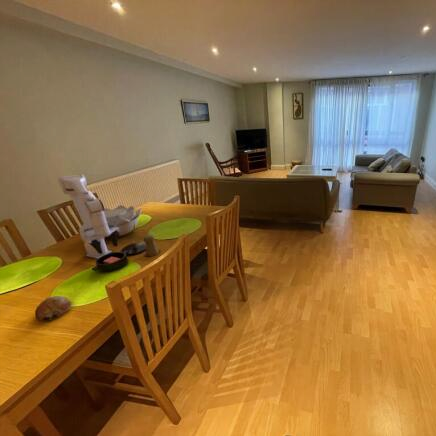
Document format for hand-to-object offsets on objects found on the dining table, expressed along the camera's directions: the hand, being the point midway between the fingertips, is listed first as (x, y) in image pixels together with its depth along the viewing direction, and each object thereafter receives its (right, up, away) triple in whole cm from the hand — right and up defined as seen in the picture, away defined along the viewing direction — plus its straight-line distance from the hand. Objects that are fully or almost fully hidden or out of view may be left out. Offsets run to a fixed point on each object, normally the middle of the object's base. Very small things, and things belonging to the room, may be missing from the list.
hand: (108, 249), depth 119 cm
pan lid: (+1, -2, +19) cm, 19 cm away
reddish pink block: (0, -8, +3) cm, 9 cm away
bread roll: (0, -21, -27) cm, 34 cm away
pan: (0, -9, +3) cm, 9 cm away
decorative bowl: (-22, +5, +38) cm, 44 cm away
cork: (+14, -4, +15) cm, 21 cm away
